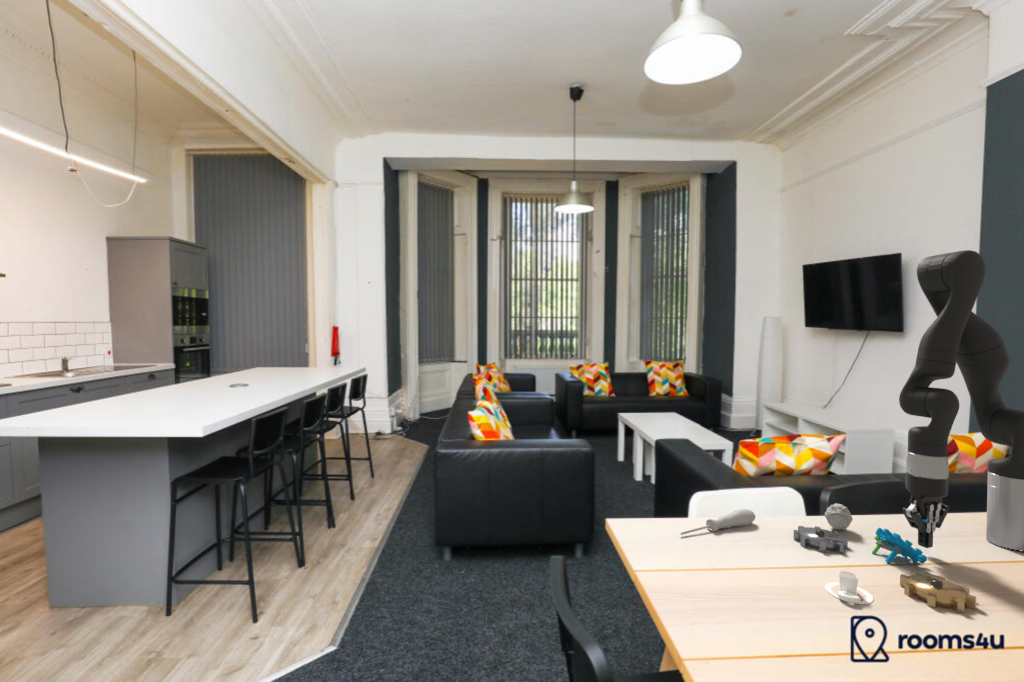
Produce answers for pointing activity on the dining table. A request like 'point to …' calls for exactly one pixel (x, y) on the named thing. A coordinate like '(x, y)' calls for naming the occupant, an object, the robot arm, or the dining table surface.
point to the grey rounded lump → (838, 516)
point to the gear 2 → (896, 546)
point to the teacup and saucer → (848, 589)
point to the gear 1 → (820, 539)
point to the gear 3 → (937, 591)
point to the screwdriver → (728, 520)
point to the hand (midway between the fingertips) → (925, 546)
